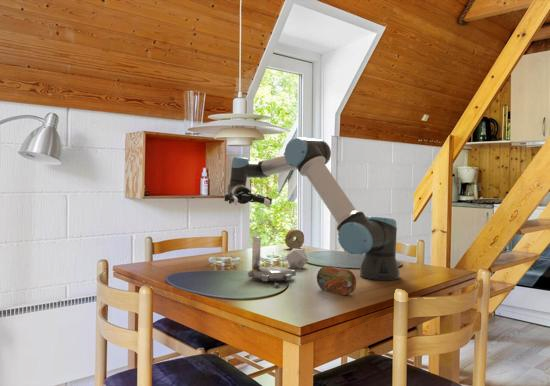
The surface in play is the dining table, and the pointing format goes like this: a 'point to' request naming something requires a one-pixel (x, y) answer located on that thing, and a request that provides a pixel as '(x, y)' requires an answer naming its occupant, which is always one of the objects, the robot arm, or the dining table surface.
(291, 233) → the stone disc
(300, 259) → the die
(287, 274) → the sprocket
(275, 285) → the timing pointer
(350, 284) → the tin
